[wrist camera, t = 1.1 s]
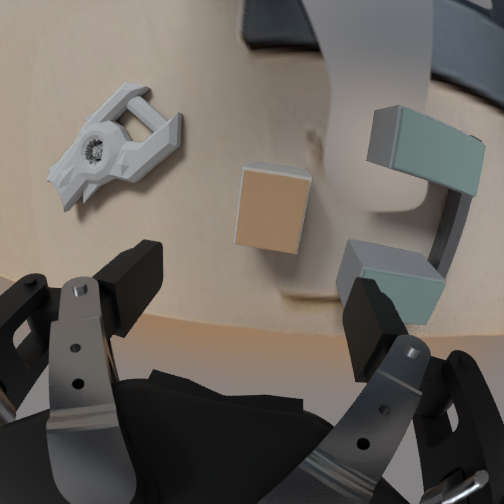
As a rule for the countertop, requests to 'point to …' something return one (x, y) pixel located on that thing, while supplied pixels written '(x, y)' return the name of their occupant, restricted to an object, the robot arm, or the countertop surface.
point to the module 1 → (272, 206)
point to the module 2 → (426, 149)
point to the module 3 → (393, 278)
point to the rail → (449, 230)
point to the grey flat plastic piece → (114, 147)
